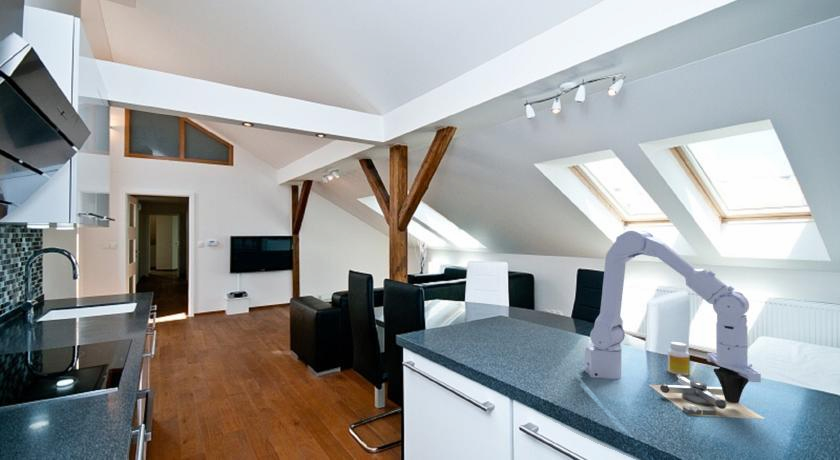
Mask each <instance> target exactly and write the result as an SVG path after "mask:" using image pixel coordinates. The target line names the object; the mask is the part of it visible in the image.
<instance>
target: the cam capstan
mask: <svg viewBox="0 0 840 460" xmlns="http://www.w3.org/2000/svg"><path fill="white" fill-rule="evenodd" d="M674 379H675V381H676V382H678V383H679V384H681V385H679V384H678V385H675V384H674V385H673V384H660V385H661V386H660V390H661V391H662V392H663V393H682V398H683V399H685V400H687V401H689V402H692V403H695V404H699V405H704V406H714V405H715V406H717V407H718V408H720V409H724V408H726V402H725V401H723V400H721V399H720V398H718V397H716V396H715V395H724V394H723V390H722V387H721V386H708V385H707V384H706V383H705V382H703V381H696V380H690V379H688V378H687V377H686V376H682V375H680V374H677V375H676V374H675V376H674Z"/></svg>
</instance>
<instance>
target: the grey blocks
mask: <svg viewBox="0 0 840 460" xmlns="http://www.w3.org/2000/svg"><path fill="white" fill-rule="evenodd" d="M682 411H683V412H684V413H685V412H686V413H685V414H687V415H688V414H698V415H716V411H715V410H714V409H712V408H711V407H698V406H695V405H690V406H683V410H682Z"/></svg>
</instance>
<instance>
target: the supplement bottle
mask: <svg viewBox="0 0 840 460" xmlns="http://www.w3.org/2000/svg"><path fill="white" fill-rule="evenodd" d="M687 349H688V347H687V343H684V342H679V341H678V342H677V341H671V342H670V348H669V349H668V351H667V372H669V373H670V374H672V375H675V376H676V375H677V374H680V375H682V376H683V377H686V376H687V377H688V376H690V375H691V374H690V372H691V371H690V370H691V369H690V365H691V364H690V361H691V359H690V353H689V352H688V351H687Z"/></svg>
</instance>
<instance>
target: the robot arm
mask: <svg viewBox="0 0 840 460" xmlns="http://www.w3.org/2000/svg"><path fill="white" fill-rule="evenodd" d="M640 255H643V256H649V257H654V258H658V259H659V260H660V261H661V262H662V263H664V264H666V265H667V266H668V267H671V268H672V269H673V270H674V271H676V272H677V273H679V274H680V275H681V276H683V277H684V279H685V285H686V287H688V288H689V289H690V290H692V291H693V292H694V293H696V294H697V295H698V296H699V297H701V298H702V299H703V300H704V301H706V302H707V304H710V305H712V307H713V311H714V312H715V313H716V326H715V328H716V329H715V330H716V331H715V333H716V334H715V335H716V337H715V338H716V341H715V343H716V345H715V346H716V349H715V350H716V352H715V353H710V352H709V353H708V352H707V353H706V360H707V362H709V363H713V364H716V365H717V366H719V368H716V367H715V368H713V373H714V374H715V376H716V377H717V379H718V381H719V382H718V383H719V385H720V387H722V390H723V394H724V397H725V400H726V401H727V402H729V403H739V402H740V400H741V396H742V394H743V390H744V389H745V387H746V385H747V384H748V383H749V382H750V383H761V382H762V377H761V376H762V374H761V373H760V372H759V371H756V370H755V369H754V368H753V364H752V363H750V362H748V358H749V357H748V346H749V344H748V343H749V342H748V325H747V322H748V319H747V314H746V313H747V312H749V308H750V302H749V300H748V299H747V297H745V296H744V294H743V293H741V292H740V291H739V292H738V291H734V290H735V288H734V287H733V286H731V285H730V286H728V285H726V284H725V283H724V282H723V281H722V280H720V279H719V278H717V277H716V273H715V272H714V271H712V270H709V271H708V270H707V269H705V268H696V267H694V266H693V265H692V264H691V263H690V262H688V261H687V260H686V259H684V257H682V256H681V255H680V254H679V253H677V252H676V250H673V248H671V247H670V246H669V245H667V244H666V242H663V241H662V239H660V238H659V237H656V236H654V235H653V234H652V233H650V231H649V232H648V231H644V230H642V231H639V230H638V231H636V230H627V231H625V232H623V233H622V234H620V235H618V236H616V240H615V242H614V243H613V244H612V245H611V246H610V248H609V249H608V250H607V252H606V254H605V263H604V272H603V281H602V292H601V301H600V310H599V315H597V317H596V319H595V321H594V326H593V328H592V329H591V331H590V333H589V337H590V341H591V343H592V344H593V346H587V347H586V348H585V350H584V371H585V372H586V373H587V375H589V376H590V377H591V378H598V379H599V378H600V379H601V378H602V379H609V380H618V379H621V378H622V346H621V344H622V342H623V341H624V340H625V337H626V333H625V330H624V327H623V324H624V322H623V319H622V317H621V311H622V304H623V303H622V301H623V293H624V282H625V274H626V263H627V262H629V261H631V260H632V259H634V258H636V257H637V256H640Z"/></svg>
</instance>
